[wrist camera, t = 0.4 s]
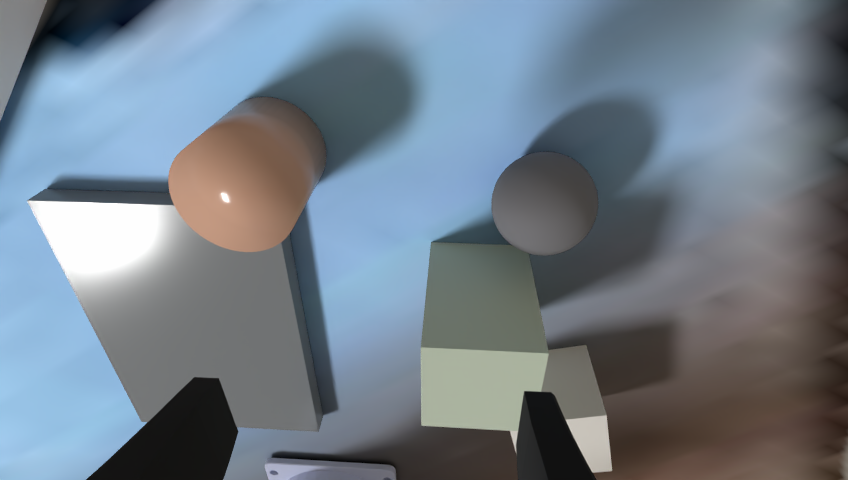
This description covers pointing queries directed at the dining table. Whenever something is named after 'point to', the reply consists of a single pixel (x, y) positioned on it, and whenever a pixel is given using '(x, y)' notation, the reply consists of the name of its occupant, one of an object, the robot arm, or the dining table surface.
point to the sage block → (480, 337)
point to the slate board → (185, 306)
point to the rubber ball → (544, 203)
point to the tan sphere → (249, 175)
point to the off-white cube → (579, 403)
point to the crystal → (15, 40)
